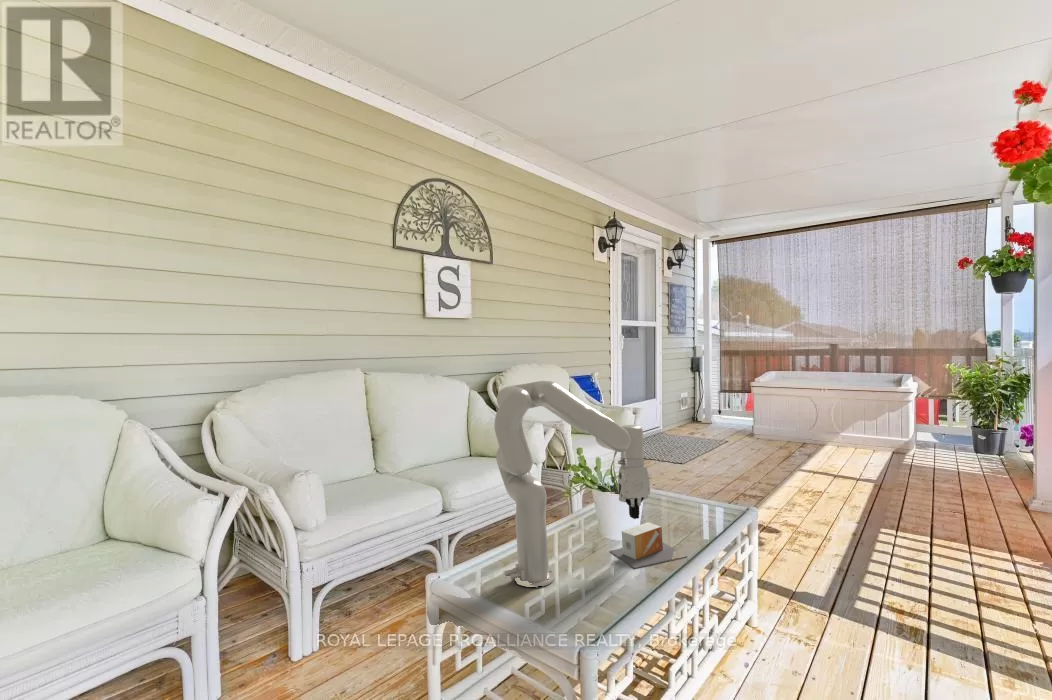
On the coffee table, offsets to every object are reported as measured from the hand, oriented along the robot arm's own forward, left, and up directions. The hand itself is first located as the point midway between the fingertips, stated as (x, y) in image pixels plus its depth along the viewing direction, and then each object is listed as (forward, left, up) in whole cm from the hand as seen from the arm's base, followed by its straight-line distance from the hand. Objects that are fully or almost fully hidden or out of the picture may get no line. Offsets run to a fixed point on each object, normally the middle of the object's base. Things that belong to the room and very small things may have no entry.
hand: (634, 517), depth 170 cm
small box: (-3, +1, -9) cm, 10 cm away
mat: (+5, +1, -14) cm, 14 cm away
